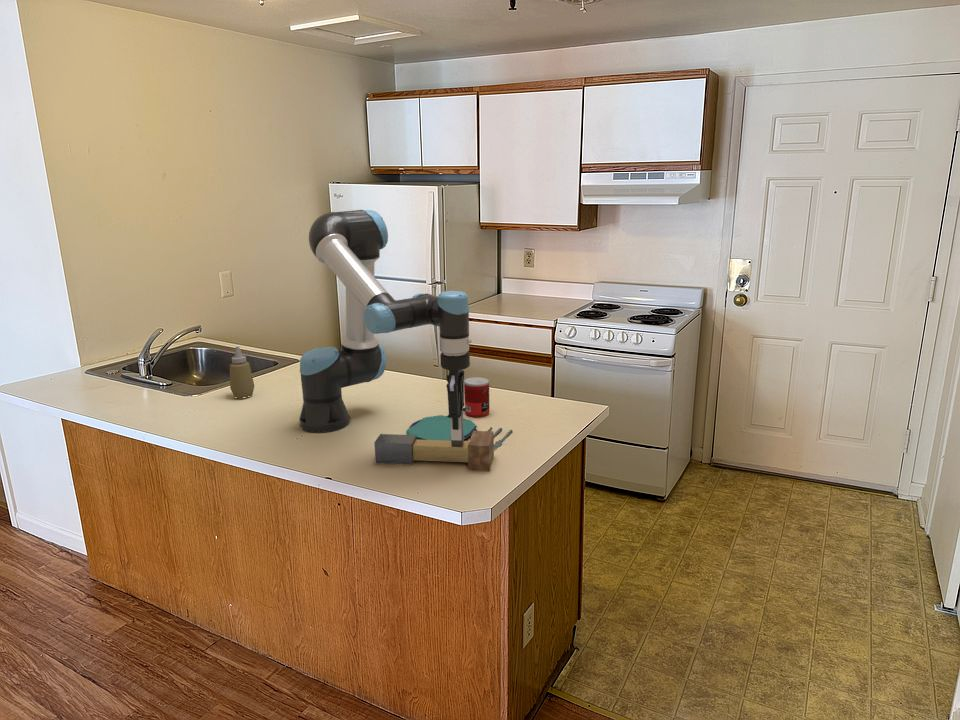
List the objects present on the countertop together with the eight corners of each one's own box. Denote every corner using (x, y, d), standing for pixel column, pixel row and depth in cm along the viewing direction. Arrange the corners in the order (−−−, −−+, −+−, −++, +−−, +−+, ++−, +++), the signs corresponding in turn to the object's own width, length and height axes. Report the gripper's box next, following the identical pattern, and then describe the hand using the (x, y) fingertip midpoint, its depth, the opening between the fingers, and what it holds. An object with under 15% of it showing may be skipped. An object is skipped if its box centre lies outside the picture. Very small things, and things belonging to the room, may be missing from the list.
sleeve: (375, 463, 183) (374, 442, 182) (381, 454, 189) (380, 433, 187) (412, 464, 182) (411, 443, 180) (417, 455, 188) (416, 435, 186)
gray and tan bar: (398, 459, 183) (395, 410, 179) (401, 453, 187) (399, 404, 183) (479, 462, 180) (478, 412, 176) (481, 456, 184) (480, 406, 180)
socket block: (468, 470, 178) (467, 445, 176) (473, 454, 188) (473, 430, 186) (489, 470, 177) (489, 446, 175) (493, 455, 187) (493, 431, 185)
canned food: (487, 418, 214) (486, 385, 211) (462, 417, 216) (461, 383, 213) (491, 410, 221) (491, 377, 218) (467, 408, 223) (466, 376, 220)
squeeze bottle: (260, 395, 240) (254, 345, 235) (241, 401, 234) (235, 351, 229) (245, 391, 245) (239, 343, 240) (226, 398, 238) (219, 348, 233)
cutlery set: (428, 417, 216) (428, 411, 216) (516, 432, 204) (517, 425, 204) (395, 441, 199) (395, 434, 198) (490, 459, 187) (490, 451, 186)
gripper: (464, 360, 167) (467, 449, 174) (473, 344, 182) (475, 427, 188) (434, 360, 168) (438, 448, 175) (445, 344, 183) (448, 426, 189)
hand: (457, 437), depth 181 cm, fingers closed on gray and tan bar, 2 cm apart
